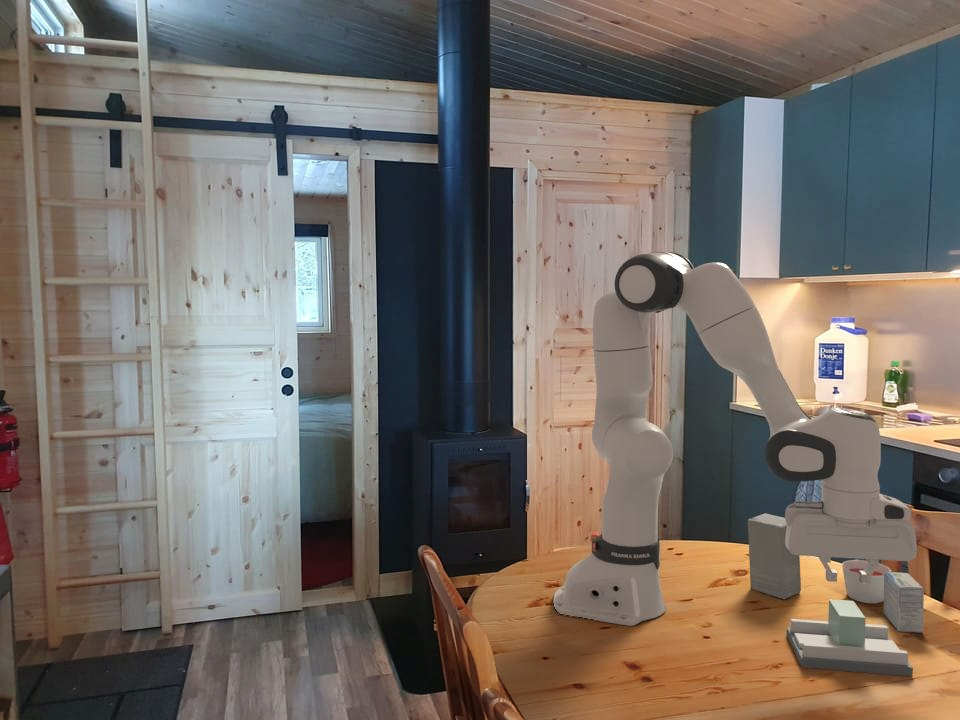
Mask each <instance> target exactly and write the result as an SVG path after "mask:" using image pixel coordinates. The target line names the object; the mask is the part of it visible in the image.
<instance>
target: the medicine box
mask: <svg viewBox="0 0 960 720" xmlns="http://www.w3.org/2000/svg"><path fill="white" fill-rule="evenodd" d="M924 595H925V594H924V587H923V586H921V584H920V583H919V582H918V581H916V579H914V578H913V577H912V576H911V574H909V573H907V572H895V571H894V572H893V571H891V572H885V575H884V601H883V614H884V616H885V617H886V618H887V619H888V621H889V622H890V623H891V625H893V627H894V628H895V629H896V630H897V631H898V632H902V633H903V632H904V633H917V634H918V633H920V634H922V633H924V597H925V596H924Z"/></svg>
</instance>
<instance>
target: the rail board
mask: <svg viewBox="0 0 960 720" xmlns="http://www.w3.org/2000/svg"><path fill="white" fill-rule="evenodd" d="M786 637H787V639H788V641H789V643H790V645H791V648H792V650H793V653H795V654H794V655H795V656H796V658H797V660H798V663H799V665H800V667H801V668H804V669H805V668H806V669H819V670H830V671H831V670H832V671H841V672H856V673H864V674H865V673H867V674H876V675H877V674H879V675H890V676H901V675H902V676H903V677H912V676H913V674H914V668H913V666H912V665H911V663H910V662H909V652H908V651H907V650H902V649H900V648H899V647H898V645H897V644H896V643H895V642H894V640H893V639H892V638H891V637H890V636H889V627H888V626H887V625H886V624H885V625H883V624H871V623H870V624H869V623H865V647H853V646H840V645H836V644H835V642H834V641H833V639H832V637H831V636H830V634H829V632H828V621H827V620H826V621H825V620H815V619H814V620H811V619H798V618H790V627H786Z"/></svg>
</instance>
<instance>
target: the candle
mask: <svg viewBox="0 0 960 720" xmlns="http://www.w3.org/2000/svg"><path fill="white" fill-rule="evenodd" d="M867 565H868V562H867V561H866V559H851V560H846V561H843V562H842V563H841V567H842V573H843V580H844V586H845V591H846V595H847V596H848V597H849V598H850V599H852V600H853V601H857V602H860V603H865V604H880V603H882V602H883V603H884V575H885V572H892V570H891V568H890V567H888V566H887V565H884V564H881V563H879V566H878V567H877V569H876V570H875V571H874V573H873V574H872V575H871V584H862V583H861V582H860V581H859V576H860V575H859V571H864V569H865V568H866V566H867Z"/></svg>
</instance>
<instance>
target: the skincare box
mask: <svg viewBox="0 0 960 720" xmlns="http://www.w3.org/2000/svg"><path fill="white" fill-rule="evenodd" d="M786 529H787V523H786V521H785V517H782V516H777V515H774V514H769V513H766V512H765V513H763V514H760V515H756V516H754V517H750V518H748V519H747V531H748V532H747V533H748V553H749V558H748V559H749V578H750V579H749V580H750V581H749V582H750V584H749V585H750V589H751V590H754V591H756V592H760V593H763V594H765V595H769V596H771V597H772V596H773V597H775V598H778V599H782V600H786V599H788V598H790V597H793V596H795V595H798V594H800V593H801V591H802V583H801V581H802V580H801V579H802V578H801V559H800V557H801V555H793V554H791V553H790V551H789V550H788V549H787V548H786V545H785V537H786Z"/></svg>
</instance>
